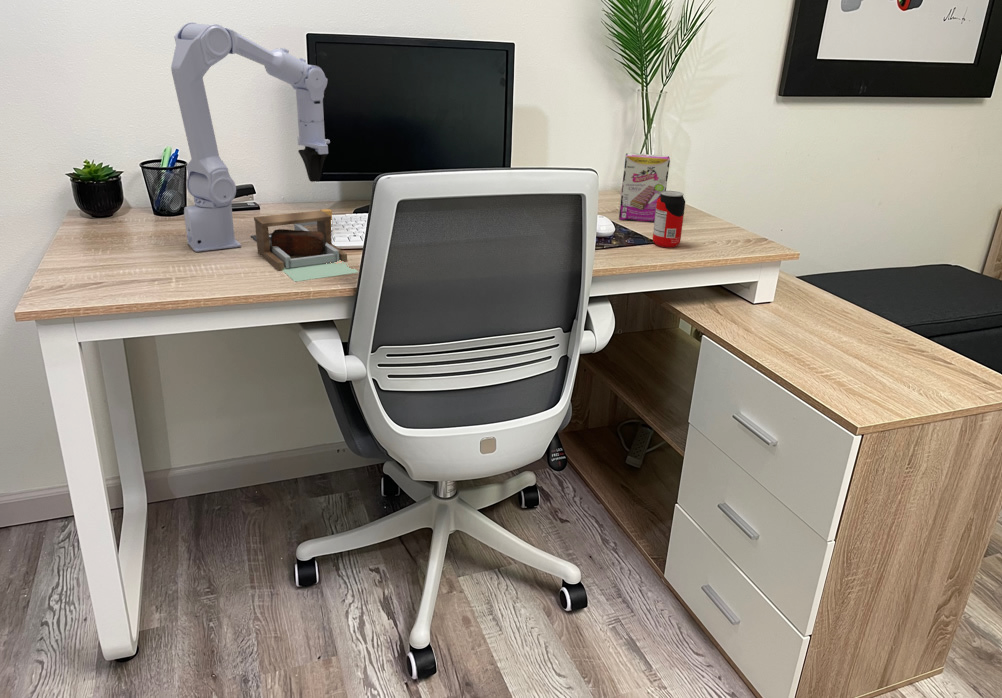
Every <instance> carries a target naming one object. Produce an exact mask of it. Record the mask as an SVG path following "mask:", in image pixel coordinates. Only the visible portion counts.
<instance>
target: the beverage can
mask: <svg viewBox="0 0 1002 698" xmlns="http://www.w3.org/2000/svg"><path fill="white" fill-rule="evenodd" d="M685 209H686V200H685V197H684V193H683V192H681V191H675V190H666V191H662V192H661V194H660V196H659V197H658V199H657V204H656V213H655V222H653V223H654V224H653V231H652V241H653V243H654V244H655V245H656V246H657V247H660V248H668V249H669V248H670V249H671V248H676V247H677V246H678V245H679V244H680V243H681V240H682V231H683V225H684V224H683V223H684V216H685Z"/></svg>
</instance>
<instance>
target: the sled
mask: <svg viewBox="0 0 1002 698" xmlns="http://www.w3.org/2000/svg"><path fill="white" fill-rule="evenodd" d="M320 210H321V211H323V212H324V213H326V214H328V215H329V216H331V220H332V221H333V211H332V210H331V209H330V208H326V209H325V208H324V209H323V208H322V209H320ZM331 220H330V221H331ZM312 225H313V226H315V225H316V226H317V221H316V222H307V223H298V224H293V227H294V228H293V230H297V231H300V230H301V231H310V230H308V229H307V228H306V227H305V226H312ZM269 243H270V252H272V253H273V254H274V255H275V256H276V257H278V258H279V259H280V260H281V261H282V262H284V267H285V268H293V267H301V266H308V265H315V264H323V263H330V262H337V261H339V251H338V250H337V249H335V248H334V247H333V246H331V245H330V244H328V243H327V242H326V244H325V252H324V253H323V255H317V256H301V257H296V258H295V257H293V258H291V256H289V255H287V254H286V253H285V252H284V251H282V250H281V249H280V248H279V247H277V246H271V244H272V243H271V235H269Z"/></svg>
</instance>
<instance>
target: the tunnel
mask: <svg viewBox="0 0 1002 698" xmlns="http://www.w3.org/2000/svg"><path fill="white" fill-rule="evenodd" d="M321 210H322V209H319V210H311V211H303V212H292V213H283V214H282V213H281V214H273V215H262V216H255V217H253V221H254V226H255V227H254V228H255V235H256V239H257V242H256V248H257V249H256V250H257V254H258V255H260V257H261V258H263V259H264V260H265V261H266V262H267V263H269V264H270V265H271V266H272V267H273V268H274V269H275V270H277V272H278V271H282V270H284V262H282V261H281V260H280V259H279V258H278V257H276V256H275V255H274V254H273V253H272V252H270V243H269V234H270V232H269V227H276V226H277V227H278V226H287V225H294V224H298V223H307V222H316V221H317V224H316V229H317V230H316V231H319V232H322V233H323V234H324V236H325V238H326V242H327V243H328V244H330V245H331V246H333V247H334V248H335V249H337V250H338V251H339V260H341V261H345V262H348V254H347V252H345V251H343V250H342V249H340V248H339V247H337V246H336V245H335V244H333V243H332V242H333V241H332V231H331V221H330V220H331V216H329V215H328V214H326V213H324V212H323V211H321Z"/></svg>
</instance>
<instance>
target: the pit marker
mask: <svg viewBox="0 0 1002 698" xmlns="http://www.w3.org/2000/svg"><path fill="white" fill-rule="evenodd" d="M272 233H273V232H271V233H270V232H269V235H271V234H272ZM250 238H251V239H252V238H253V239H252V240H253V241H255V242H256V243H257V239H256V234H254V235H253V234H252V235H250Z"/></svg>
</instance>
